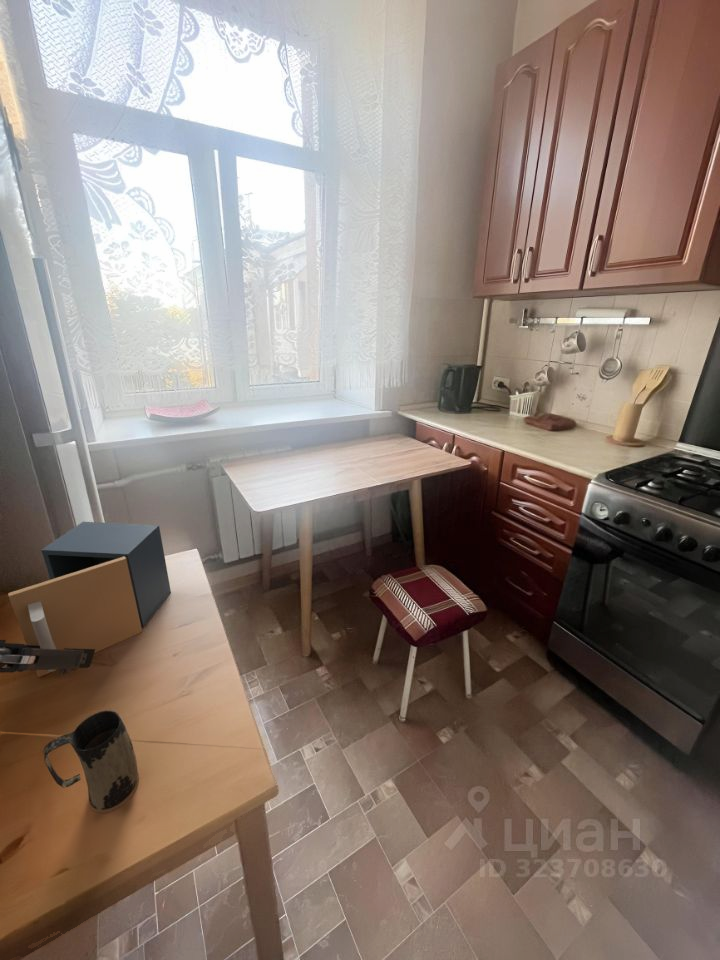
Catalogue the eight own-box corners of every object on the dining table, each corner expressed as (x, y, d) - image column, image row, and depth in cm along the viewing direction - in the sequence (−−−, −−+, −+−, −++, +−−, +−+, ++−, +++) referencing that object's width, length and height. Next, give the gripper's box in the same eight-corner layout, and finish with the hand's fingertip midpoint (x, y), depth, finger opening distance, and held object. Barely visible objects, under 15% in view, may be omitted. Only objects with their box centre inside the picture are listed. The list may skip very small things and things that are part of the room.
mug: (135, 756, 54) (118, 694, 50) (145, 791, 51) (127, 727, 46) (66, 795, 50) (40, 730, 45) (70, 837, 46) (42, 771, 41)
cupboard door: (151, 648, 72) (134, 571, 66) (42, 698, 62) (11, 614, 56) (140, 629, 76) (124, 556, 70) (37, 674, 66) (8, 593, 60)
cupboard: (143, 628, 77) (127, 554, 71) (64, 624, 77) (40, 549, 71) (171, 592, 87) (159, 525, 81) (100, 589, 87) (83, 521, 81)
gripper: (-193, 689, 41) (-11, 678, 62) (3, 702, 41) (120, 686, 62) (-150, 614, 44) (10, 627, 65) (32, 626, 44) (134, 635, 65)
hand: (63, 656), depth 63 cm, fingers open, 8 cm apart
